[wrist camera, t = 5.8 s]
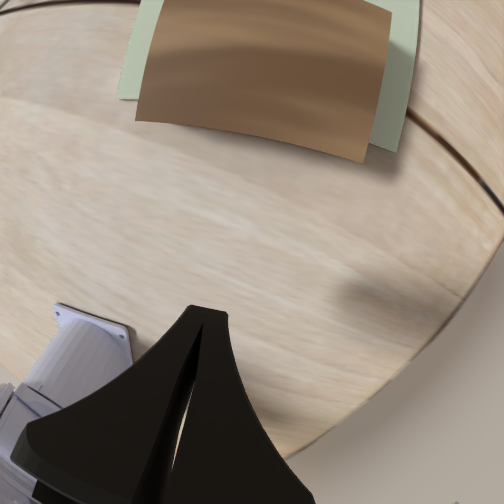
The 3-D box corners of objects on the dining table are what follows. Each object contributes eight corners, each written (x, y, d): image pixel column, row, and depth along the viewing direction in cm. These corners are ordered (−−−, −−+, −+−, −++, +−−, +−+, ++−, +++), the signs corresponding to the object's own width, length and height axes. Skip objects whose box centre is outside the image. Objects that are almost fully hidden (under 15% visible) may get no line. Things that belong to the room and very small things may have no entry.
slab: (363, 163, 10) (392, 12, 7) (135, 120, 10) (174, -28, 6) (343, 155, 13) (370, 29, 10) (159, 120, 13) (190, -5, 9)
